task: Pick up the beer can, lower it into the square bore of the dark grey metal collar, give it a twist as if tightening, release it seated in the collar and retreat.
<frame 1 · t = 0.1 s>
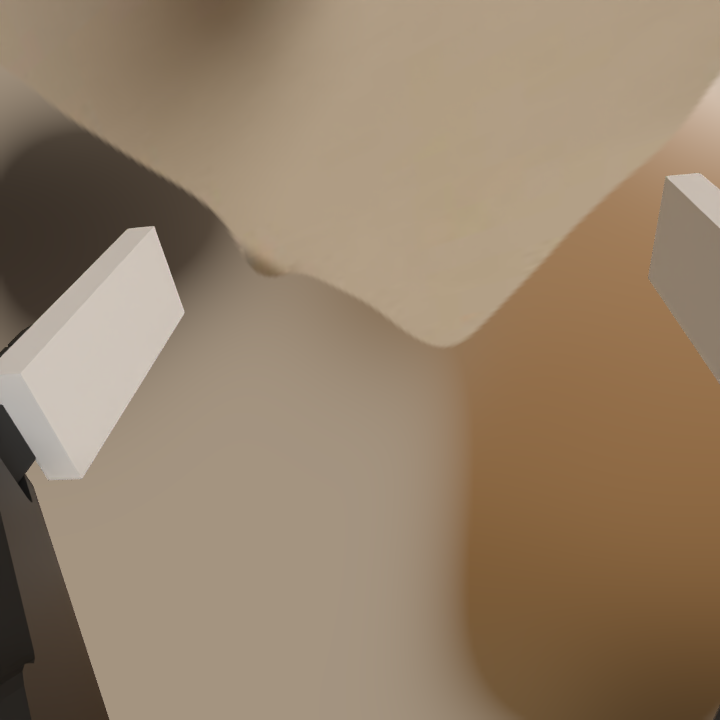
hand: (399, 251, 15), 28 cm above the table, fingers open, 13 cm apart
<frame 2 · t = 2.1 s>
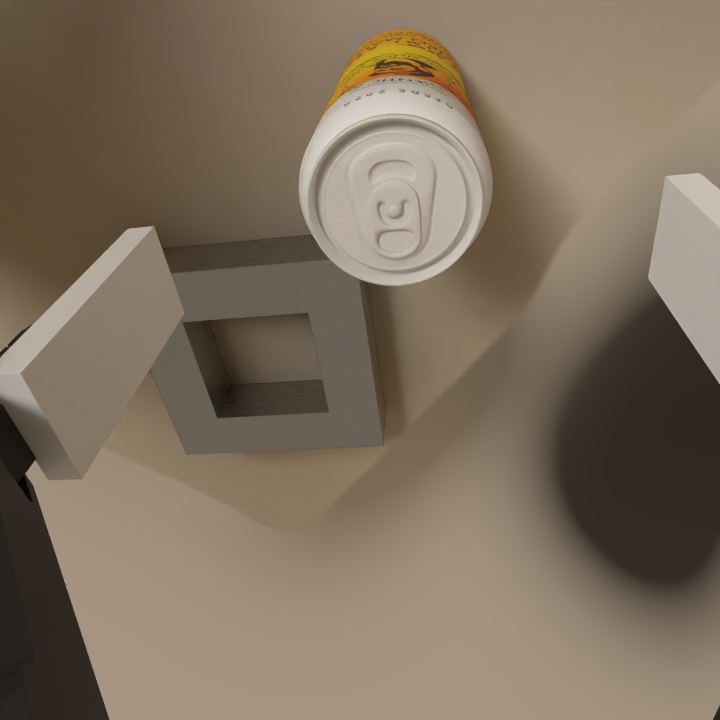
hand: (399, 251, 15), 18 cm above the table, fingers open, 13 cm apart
beer can: (400, 94, 30), on the table
collar: (270, 337, 39), on the table
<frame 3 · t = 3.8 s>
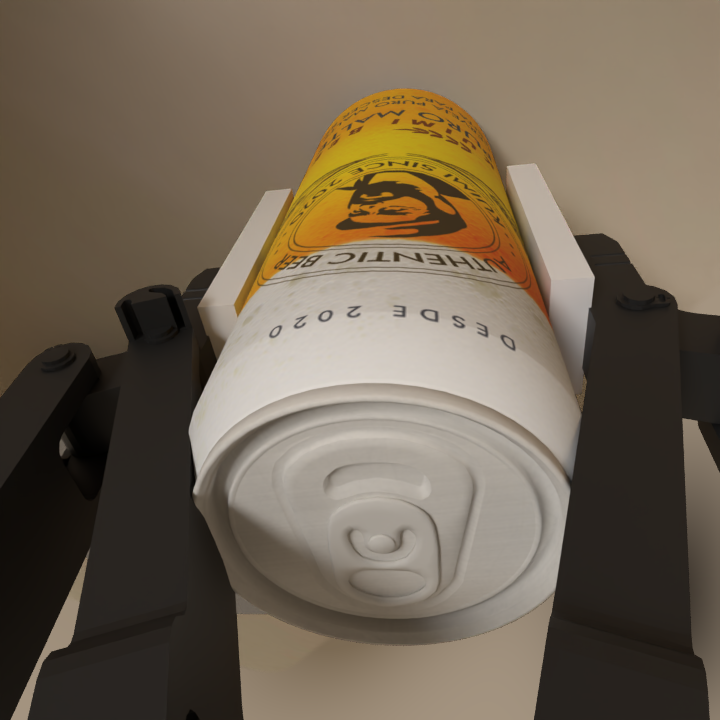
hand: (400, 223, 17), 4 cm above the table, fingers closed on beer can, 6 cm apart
beer can: (402, 176, 20), on the table, touching gripper
collar: (229, 472, 30), on the table
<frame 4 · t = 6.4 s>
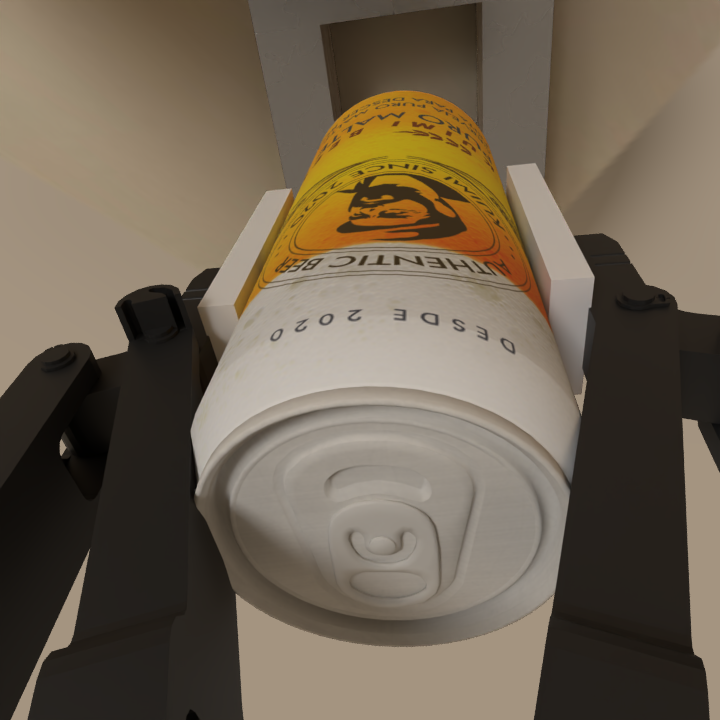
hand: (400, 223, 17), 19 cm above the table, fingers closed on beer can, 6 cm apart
beer can: (403, 178, 20), point 15 cm above the table, touching gripper
collar: (407, 85, 32), on the table
when the fingers open (6 cm above the table, at t = 9.1 s): beer can drops 2 cm, resting in collar.
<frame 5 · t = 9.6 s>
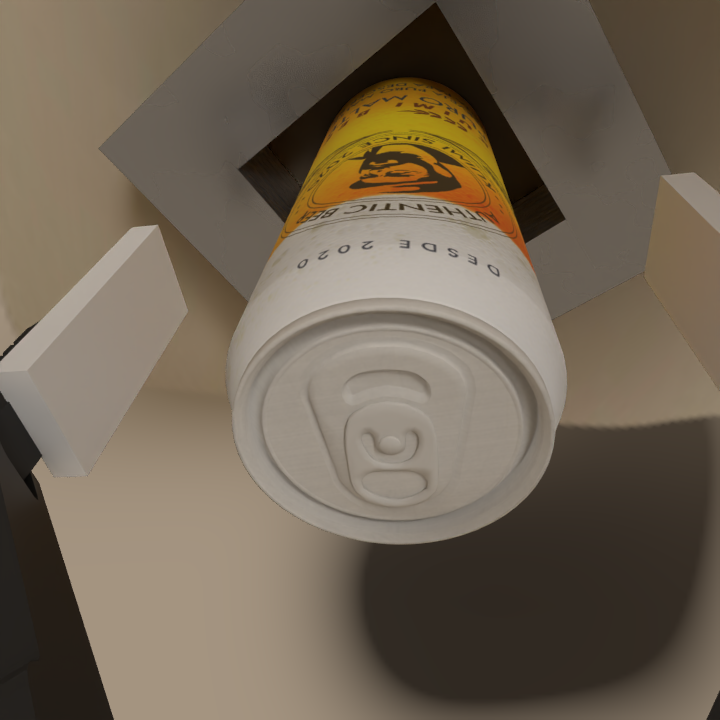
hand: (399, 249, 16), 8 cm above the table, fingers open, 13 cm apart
beer can: (405, 160, 22), resting in collar
collar: (404, 160, 22), on the table
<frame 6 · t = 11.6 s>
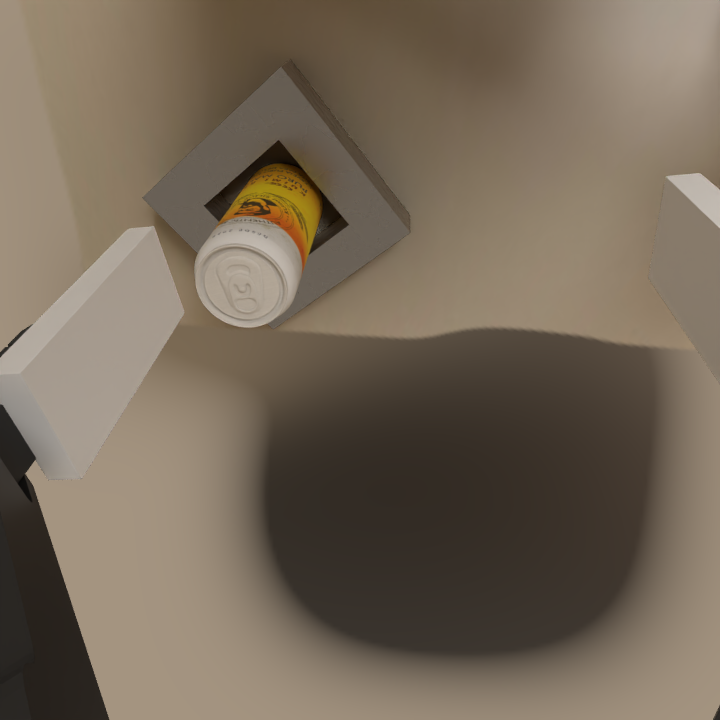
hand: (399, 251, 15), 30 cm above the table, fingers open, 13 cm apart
beer can: (285, 198, 46), resting in collar
collar: (284, 199, 46), on the table
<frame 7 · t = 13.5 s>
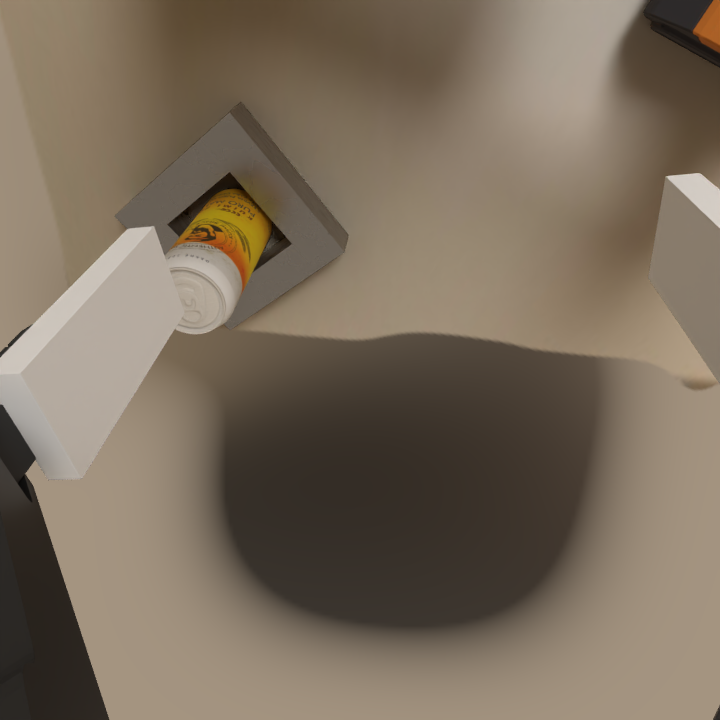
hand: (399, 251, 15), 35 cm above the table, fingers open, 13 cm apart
beer can: (240, 217, 53), resting in collar
collar: (239, 218, 52), on the table
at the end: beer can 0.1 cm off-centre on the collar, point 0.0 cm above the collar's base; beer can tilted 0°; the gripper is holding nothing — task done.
